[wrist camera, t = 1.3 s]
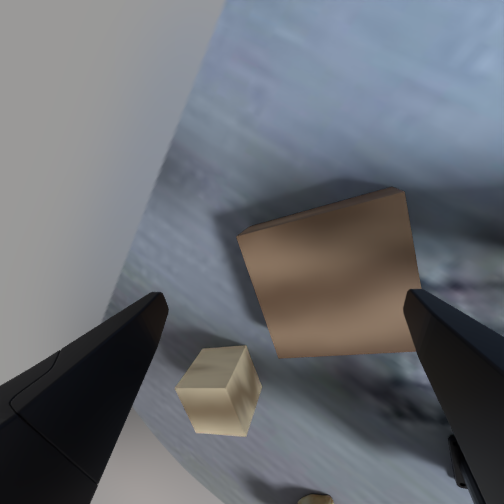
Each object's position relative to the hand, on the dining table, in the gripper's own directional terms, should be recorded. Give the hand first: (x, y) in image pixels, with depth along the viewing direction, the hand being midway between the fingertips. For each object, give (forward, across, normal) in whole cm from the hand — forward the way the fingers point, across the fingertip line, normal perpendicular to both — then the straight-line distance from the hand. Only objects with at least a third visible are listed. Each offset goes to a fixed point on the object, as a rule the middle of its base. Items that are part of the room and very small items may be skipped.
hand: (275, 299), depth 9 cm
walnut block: (+12, -4, +7) cm, 15 cm away
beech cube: (+11, +7, +20) cm, 24 cm away
